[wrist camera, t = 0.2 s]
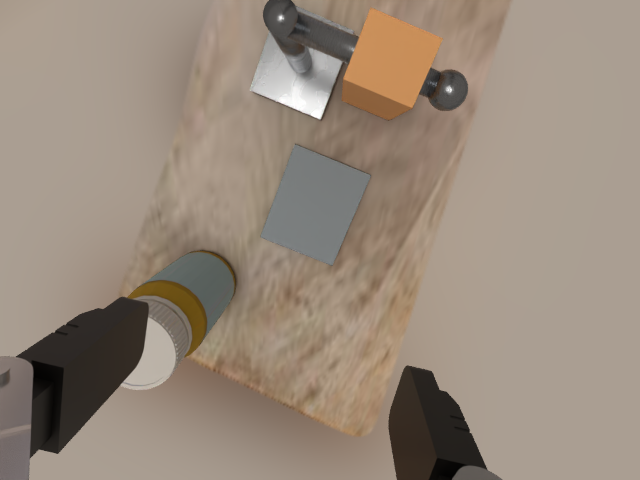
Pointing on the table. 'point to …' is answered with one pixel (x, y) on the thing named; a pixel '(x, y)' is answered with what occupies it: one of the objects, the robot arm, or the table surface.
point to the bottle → (180, 313)
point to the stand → (323, 62)
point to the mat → (314, 205)
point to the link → (388, 65)
